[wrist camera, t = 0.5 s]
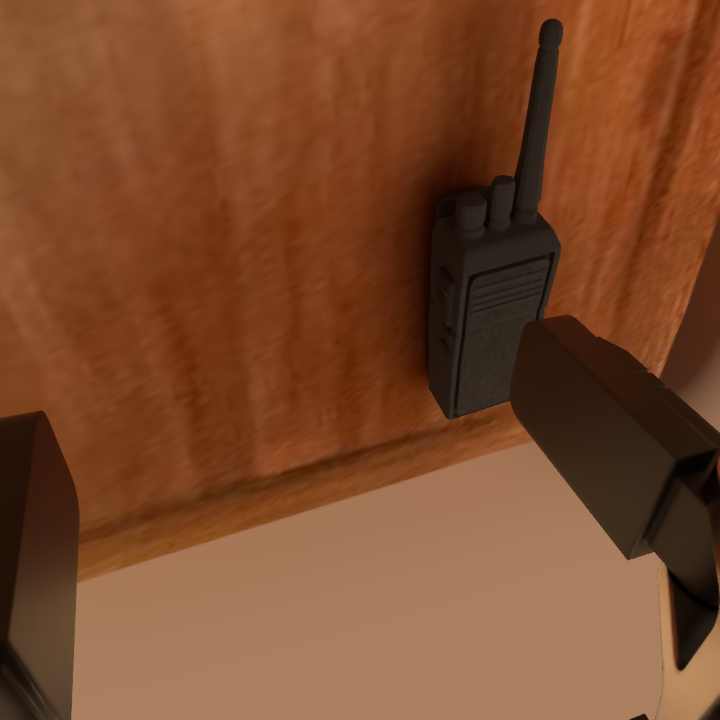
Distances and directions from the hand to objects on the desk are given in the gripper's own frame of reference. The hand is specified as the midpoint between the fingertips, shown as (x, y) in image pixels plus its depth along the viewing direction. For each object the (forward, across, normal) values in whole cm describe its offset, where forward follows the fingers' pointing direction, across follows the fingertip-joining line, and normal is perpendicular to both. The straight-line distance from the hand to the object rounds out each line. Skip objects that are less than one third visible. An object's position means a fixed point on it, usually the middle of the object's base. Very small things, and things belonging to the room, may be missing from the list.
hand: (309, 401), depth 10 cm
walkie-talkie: (+18, -12, +6) cm, 22 cm away
